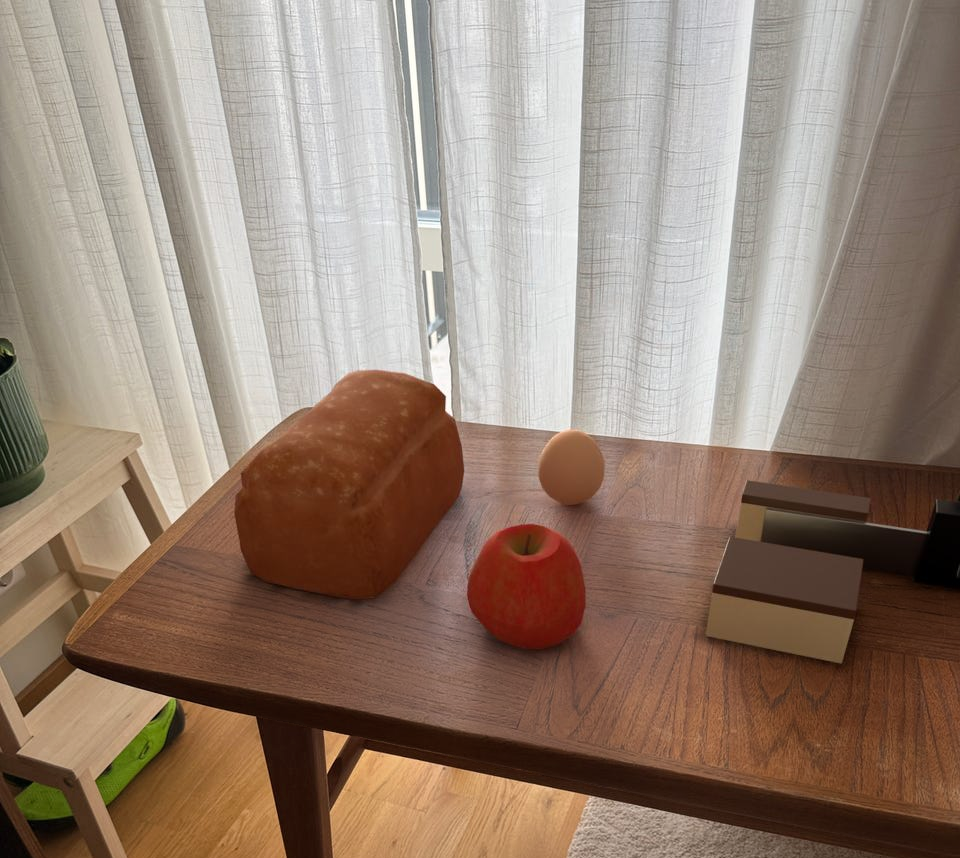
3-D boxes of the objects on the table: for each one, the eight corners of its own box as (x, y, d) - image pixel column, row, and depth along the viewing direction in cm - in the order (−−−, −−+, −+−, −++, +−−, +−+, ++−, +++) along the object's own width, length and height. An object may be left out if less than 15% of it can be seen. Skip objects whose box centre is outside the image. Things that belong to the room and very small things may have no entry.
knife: (991, 580, 89) (1018, 510, 84) (992, 595, 88) (1020, 524, 83) (760, 543, 96) (772, 476, 91) (757, 556, 94) (769, 488, 89)
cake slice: (856, 548, 94) (870, 497, 91) (854, 564, 92) (868, 513, 89) (738, 529, 98) (746, 479, 94) (734, 544, 96) (742, 494, 92)
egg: (553, 479, 108) (554, 412, 102) (612, 491, 105) (616, 423, 100) (527, 509, 103) (526, 441, 97) (588, 523, 100) (591, 453, 95)
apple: (457, 655, 84) (450, 560, 77) (488, 586, 92) (483, 494, 85) (573, 672, 82) (576, 575, 75) (594, 600, 90) (598, 506, 83)
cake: (849, 611, 87) (863, 559, 83) (841, 664, 81) (856, 610, 77) (721, 587, 90) (729, 536, 87) (705, 636, 85) (713, 584, 81)
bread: (235, 579, 95) (201, 450, 85) (343, 466, 112) (325, 349, 103) (384, 610, 90) (365, 477, 80) (473, 487, 107) (467, 366, 98)
